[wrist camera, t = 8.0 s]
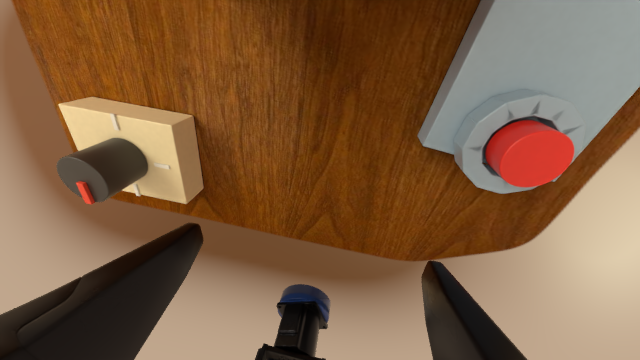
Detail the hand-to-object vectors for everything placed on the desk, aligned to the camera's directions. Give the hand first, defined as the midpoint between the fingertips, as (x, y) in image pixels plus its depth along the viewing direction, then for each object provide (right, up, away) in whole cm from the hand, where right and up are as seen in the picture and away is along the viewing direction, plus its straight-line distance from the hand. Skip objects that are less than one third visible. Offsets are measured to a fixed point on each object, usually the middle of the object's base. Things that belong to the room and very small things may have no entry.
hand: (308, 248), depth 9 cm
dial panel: (-16, +6, +15) cm, 23 cm away
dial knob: (-17, +5, +12) cm, 21 cm away
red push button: (+13, +5, +6) cm, 15 cm away
